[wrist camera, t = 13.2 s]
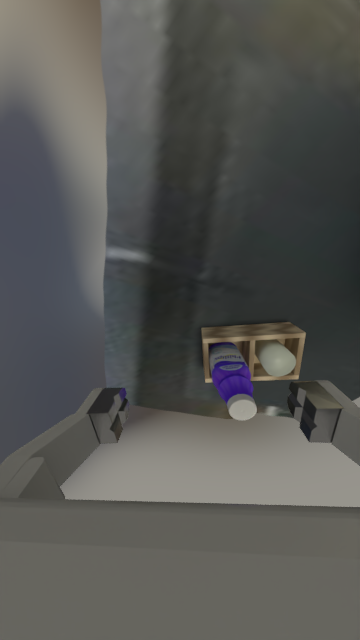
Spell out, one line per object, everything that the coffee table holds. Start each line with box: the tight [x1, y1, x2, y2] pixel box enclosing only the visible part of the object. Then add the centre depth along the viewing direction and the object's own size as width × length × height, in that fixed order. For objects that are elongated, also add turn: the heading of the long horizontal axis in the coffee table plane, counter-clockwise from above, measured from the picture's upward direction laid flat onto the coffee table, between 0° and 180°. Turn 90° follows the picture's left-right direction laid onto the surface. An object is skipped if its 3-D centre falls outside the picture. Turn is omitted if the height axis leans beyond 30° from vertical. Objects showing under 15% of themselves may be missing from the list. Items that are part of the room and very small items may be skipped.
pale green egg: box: [255, 339, 296, 377], centre depth 37 cm, size 6×6×7 cm
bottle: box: [208, 342, 257, 420], centre depth 33 cm, size 7×6×17 cm
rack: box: [201, 322, 306, 382], centre depth 39 cm, size 20×11×6 cm, turn 95°
